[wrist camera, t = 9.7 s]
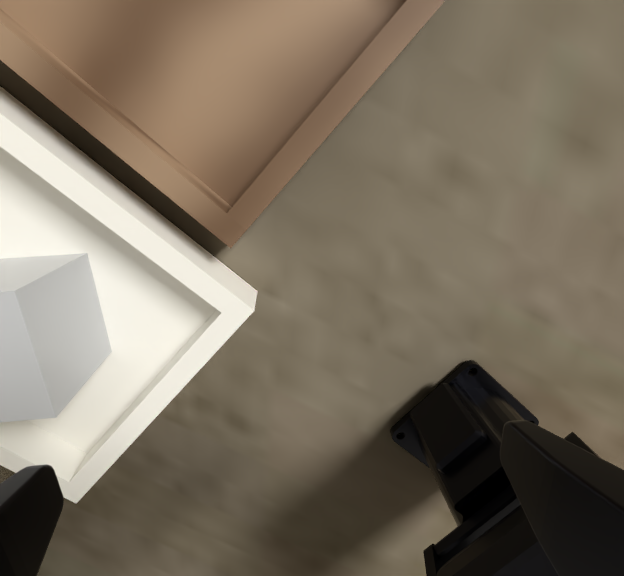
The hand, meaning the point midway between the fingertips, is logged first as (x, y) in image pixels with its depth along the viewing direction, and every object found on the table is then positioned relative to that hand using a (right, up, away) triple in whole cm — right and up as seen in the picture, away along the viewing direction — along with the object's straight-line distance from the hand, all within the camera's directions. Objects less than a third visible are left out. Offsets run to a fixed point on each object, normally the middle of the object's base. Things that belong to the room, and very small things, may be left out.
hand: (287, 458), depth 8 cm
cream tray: (-12, +3, +11) cm, 16 cm away
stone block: (-12, +2, +10) cm, 16 cm away
